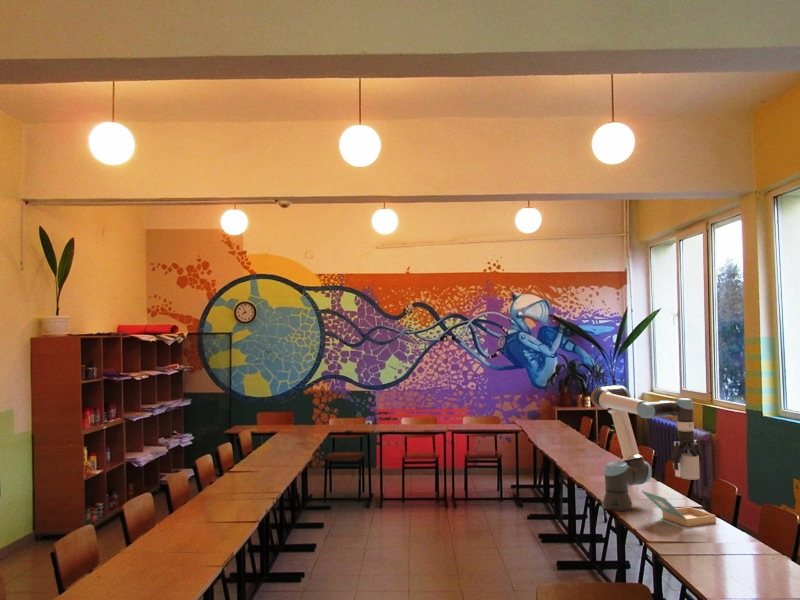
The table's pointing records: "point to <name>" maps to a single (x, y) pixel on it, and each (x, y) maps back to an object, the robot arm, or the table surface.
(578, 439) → the table surface
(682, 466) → the mug
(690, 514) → the box
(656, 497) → the lid
